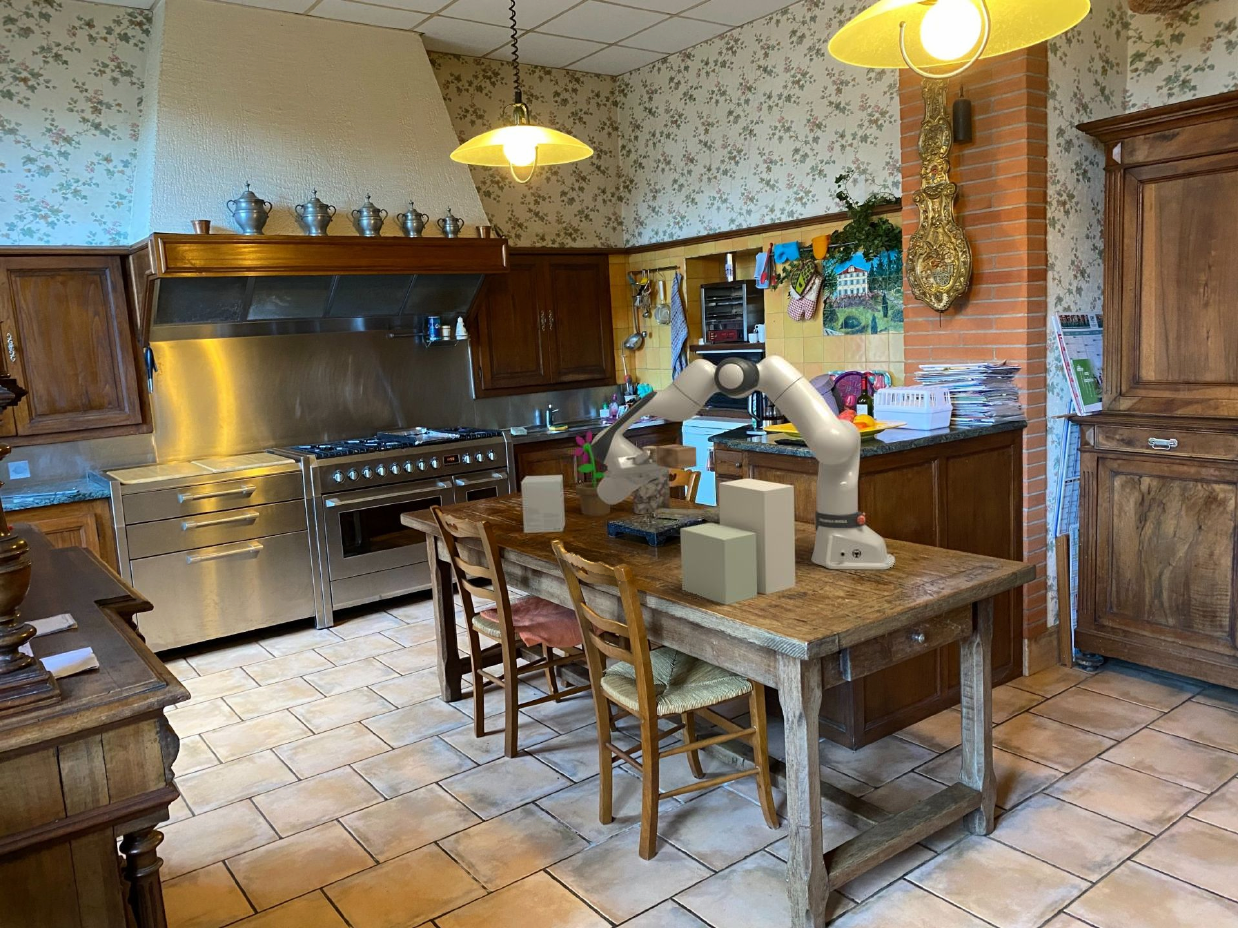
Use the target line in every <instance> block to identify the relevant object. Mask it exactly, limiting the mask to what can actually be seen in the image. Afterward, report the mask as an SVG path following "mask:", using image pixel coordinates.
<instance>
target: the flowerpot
mask: <svg viewBox="0 0 1238 928" xmlns="http://www.w3.org/2000/svg"><path fill="white" fill-rule="evenodd" d="M585 435H586V436H585V440H584V439H583V438H582V437H581V436H576V437H575V441H576V443H577V444H578V445H579V446H582V447H578V448H576V449H575V450H574V451H573V453H572V455H573V456H580V455H582V458H581V462H582V465H581V466H579V467H578V468H577V470H578V471H579V472H582V473H590V472H592V479H593V480H592V482H585V483H579V484H576V485H575V490H574V491H575V493H577V494H578V498H579V503H580V509H581V514H582V515H584V516H592V517H593V516H594V517H595V516H597V517H598V516H605V515H608V514H610V512H611V505H612V504H607V503H605V502H604V501H603V500H602V499H601V498H600V497H599V495H598V493H597V487H598V485H599V483H600V482H601V481H597V479H603V478H604V476H603V475H604V473H605V472H599V471H598V472H596V465H595V460H596V459H595V458H594V457H593V455H592V452H591V443H592V441H593V440H592V439H593V434H592V431H591V430H588V432H587V433H586V434H585ZM589 457H590V459H591V460H590V461H591V463H588V462H589Z"/></svg>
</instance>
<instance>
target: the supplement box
mask: <svg viewBox="0 0 1238 928" xmlns="http://www.w3.org/2000/svg"><path fill="white" fill-rule="evenodd" d="M563 478H564V477H563V475H562V474H553V475H552V474H551V475H549V474H548V475H526V476H525V477H524V478H523V479H522V481H521V482H520V484H521V485H520V486H521V501H522V502H521V503H522V518H523V519H522V520H523V533H524V534H529V533H531V534H532V533H559V532H560V533H561V532H563V531H564V528H565V525H566V519H565V518H566V517H565V497H564V496H565V495H564V481H563Z"/></svg>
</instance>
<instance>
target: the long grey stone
mask: <svg viewBox="0 0 1238 928" xmlns="http://www.w3.org/2000/svg"><path fill="white" fill-rule="evenodd" d="M654 512H665V513H673V514H685V515H690V516H698V517H701V518H705V520H707V521H706V522H708V523H720V507H719V504H718V505H714V506H711V507H707V508H701V509H697V508H696V509H695V508H687V509H684V508H669V509H667V508H661V509H658V510H654Z"/></svg>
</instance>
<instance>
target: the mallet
mask: <svg viewBox="0 0 1238 928" xmlns="http://www.w3.org/2000/svg"><path fill="white" fill-rule="evenodd" d="M641 450H642V451H643V453H644V452H645V451H647V450H651V453H652V457H650V458H648V459H651V460H657V466H662V467H668V468H671V469H673V470H674V469H675V470H682V469H688V468H694V467H695V468H697V447H696V446H689V445H682V444H675V443H674V444H668V445H667V444H666V445H661V446H653V445H650V446H649V445H648V446H643V447H642V449H641Z"/></svg>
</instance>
